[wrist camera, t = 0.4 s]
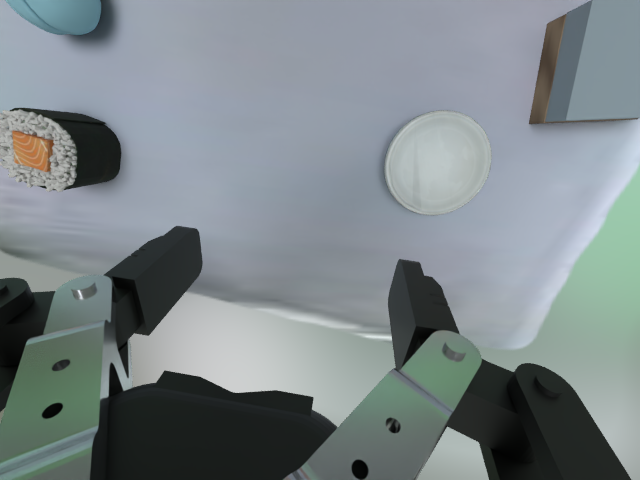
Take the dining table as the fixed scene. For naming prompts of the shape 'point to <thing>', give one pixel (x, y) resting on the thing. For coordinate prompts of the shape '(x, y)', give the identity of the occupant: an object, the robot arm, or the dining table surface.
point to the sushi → (57, 149)
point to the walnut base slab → (549, 73)
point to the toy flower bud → (60, 14)
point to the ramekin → (437, 162)
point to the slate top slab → (598, 63)
